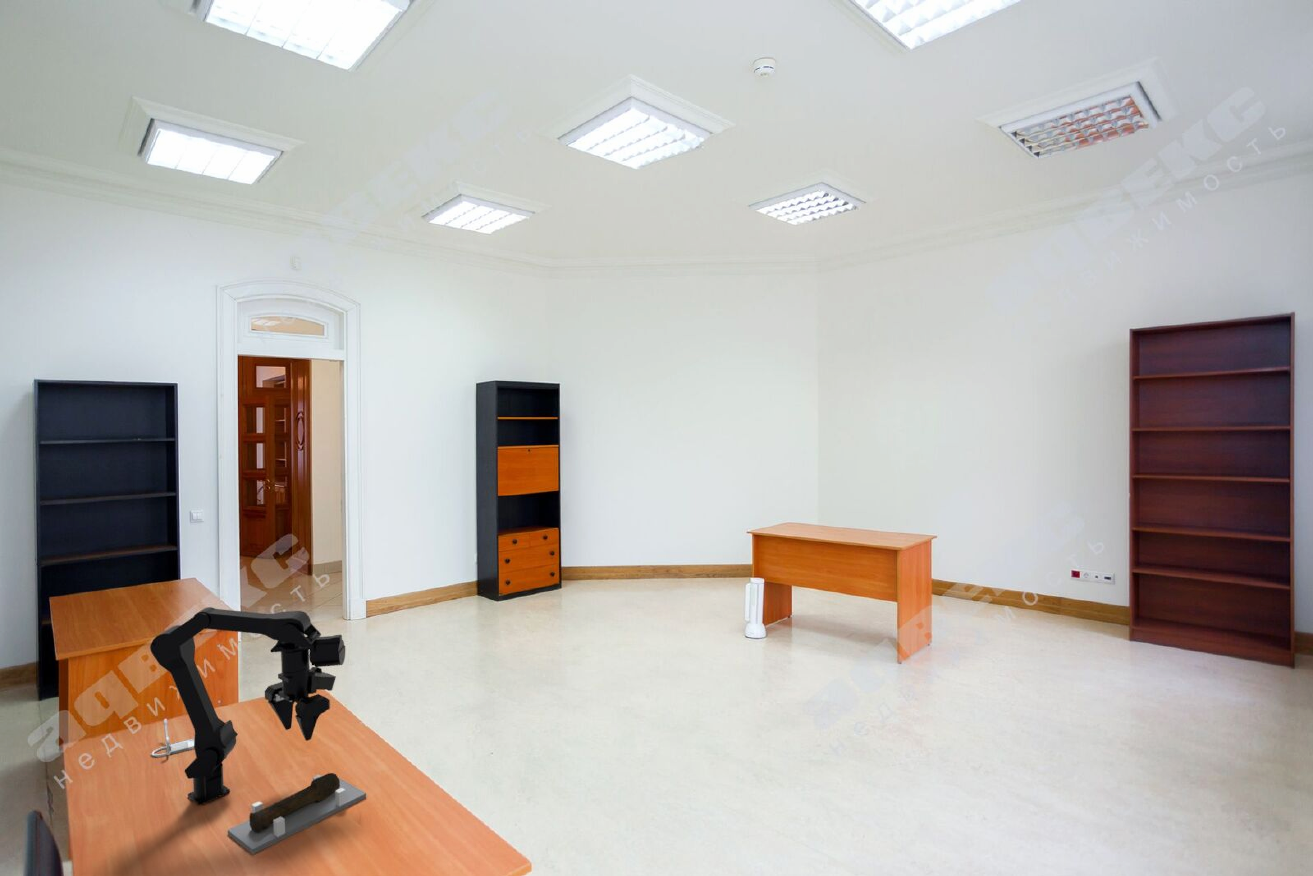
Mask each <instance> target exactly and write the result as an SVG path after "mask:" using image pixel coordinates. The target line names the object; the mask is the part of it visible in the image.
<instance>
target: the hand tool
mask: <svg viewBox="0 0 1313 876" xmlns="http://www.w3.org/2000/svg"><path fill="white" fill-rule="evenodd" d="M339 778H340V777H339ZM339 778H338V775H337V774H336V773H334V772H331V773H330V772H329V773H326V774H324V775H321V777H319V778H316V779H315V780H313V779H312V781H311V782H310V785H309V786H306V787H305V788H302V789H301V790H299V791H298V792H297V791H296V792H295V793H294V794H291V795H289V796H287V797H285V798H283V799H281V800H279V801H277V802H274V803H273V804H271V805H269V806H266V807H264V808H263V809H262V810H260V811H258V812H255V813H252V812H251V813H249V817H248V818H249V819H248V820H250V826H251V829H252V830H253V831H254V832H256V833H259V832H260V831H261V830H262V829H267V828H268V826H269V825H270V824H272V823H273V820H275V819H277V818H279V817H282V818H283V817H285V816H287V815H290V814H292V813H293V812H295V811H297V810H299V809H301V808H303V807H304V806H306V805H308V804H310V803H313V802H321V801H323V800H324V799H326V798H327V797H328V796H330V795H331V794H333V793H334V792H335V791H336V790H337V789H339V787H340V781H339Z"/></svg>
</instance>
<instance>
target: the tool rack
mask: <svg viewBox="0 0 1313 876" xmlns="http://www.w3.org/2000/svg"><path fill="white" fill-rule="evenodd" d="M321 776H322V775H321V774H317V775H315V776H313V777H312V781H313V780H315V779H316V778H319V777H321ZM339 781H340V787H339V789H337V790H336V791H335V792H334V793H333V794H331V795H330V796H328V797H327V798H326V799H324V800H323V801H321V802H313V803H310V804H308V805H306V806H304V807H303V808H301V809H299V810H297V811H295V812H293V813H292V814H290V815H287V816H285V817H283V818H282V817H279V818H277V819H275V820H273V823H272V824H270V825H269V826H268V828H267V829H262V830H261V831H260V832H259V833H256V832H254V831H253V830H252V829H251V826H250V820H249V819H248V820H246V821H244V822H241V823H239V824H237V825H234V826H233V827H230V828H229V829H227V835H228V836H229V837H230V838H232V839H233V840H234V841H235V842H237V843H238V844H239V845H241V846H242V847H243V849H245V850H247V851H248V852H249V853H250V854H251V855H255V854H257V853H258V852H260V851H263V850H265V849H267V848H268V847H270V846H272V845H274V844H276V843H279V842H280V841H282V840H284V839H286V838H288V837H291V836H292V835H295V834H297V833H299V832H300V831H302V830H304V829H306V828H309V827H310V826H312V825H315V824H317V823H318V822H321V821H322V820H324V819H326V818H328V817H330V816H332V815H334V814H336V813H338V812H341V811H343V810H344V809H346V808H348V807H350V806H353V805H354V804H356V803H358V802H360V801H362V800H364V799H366V798H367V793H366V792H365V791H363V790H361V789H359V788H358V787H357V786H354V785H352V784H351V783H349V782H347V781H346V780H344V779H342V778H341V777H339ZM262 809H264V808H263V802H261V801H260V800H259V801H257V802H254V803H252V804H251V813H255V812H258V811H260V810H262Z"/></svg>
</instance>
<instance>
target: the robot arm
mask: <svg viewBox="0 0 1313 876" xmlns="http://www.w3.org/2000/svg"><path fill="white" fill-rule="evenodd" d="M311 621H312V620H311V619H310V616H309V615H308V614H307V612H305V611H302V610H290V611H287V610H286V611H279V612H274V613H263V612H252V611H251V612H250V611H243V610H242V611H241V610H231V609H222V608H221V609H220V608H216V607H211V606H209V607H205V608H203V609H202V610H199V611H198V612H197V613H195V614H194V615H193V617H191V618H190V619H188V620H186V621H185V622H184V623H182V624H177V625H172V626H170V627H169V628H168V629H166V630H164V631H162V633H159V634H158V635H157V636H155V637H154V639H153V640H152V641H151V643H150V645H149V646H150V647H149V648H150V649H149V650H150V652H151V655H152V656H153V657H154V659H155V660H156V662H157V663H158V665H159V666H161V667H162V668H164V669H165V670H166V671H168V672H169V673H170V675H171V678H172V679H173V682H174V685H175V686H176V690H177V691H178V694H179V696H180V698H181V701H182V704H183V705H184V708H185V710H186V713H187V715H188V717H189V720H190V722H191V725H192V728H193V729H194V738H193V739H194V749H193V750H194V754H195V758H194V760H192V762H191V763H189V765H188V766H187V767H186V768H185V769H184V773H185V776H186V778H187V779H189V780H190V779H192V783H193V787H192V788H193V789H192V790H193V791H191V792H189V793H187V798H189V799H190V800H191V801H192V802H194V803H195V804H196V805H197V806H201V805H204V804H206V803H208V802H210V801H212V800H215V799H218V798H220V797H222V796H225V795H228V794H229V793H230V792H231V790H230V789H229V788H228V787H227V786H226V785H224V784H225V783H224V764H223V762H224V761H225V759H227V758H228V755H230V753H231V752H232V751H233V750H234V748H235V747H236V744H237V737H238V733H237V731H236V730H235V729H234V724H233V721H232V719H229V720H227V721H226V722H224V720H222V719H220V718H219V716H218V715H217V711H216V710H215V707H214V705H213V702H212V700H211V698H210V696H209V692H208V690H207V688H206V685H205V683H204V682H203V678H202V676H201V674H200V672H199V669H198V667H197V665H196V660H195V658H196V657H195V656H196V655H195V654H196V644H195V638H194V637H195V636H197V635H198V634H199V633H201V632H202V631H204V630H217V631H224V632H225V631H228V632H237V633H248V634H256V635H257V634H258V635H259V634H260V635H263V636H266V637H267V638H269V639H271V640H274V641H277V642H276V643H275V645H273V646H272V648H271V649H270V650H269V651H270V653H279V652H280V663H281V672H280V673H278V674H277V679H279V680H280V681H279V682H278V683H274V684H271V685H268V686H267V688H265V690H264V699H265V701H267V703H268V704H269V705H270V707H271V709H272V710H273V712H274V713H275V714H276V716H277V718H278V719H279V721H280V723H281V724H282V726H283V728H284V729H285V731H287V730H290V729H291V728H292V723H293V711H295V714H296V715H295V718H296V721H297V723H298V726H299V729H300V731H301V733H302V736H303V738H304V740H305V741H307V742H308V741H310V740H311V739H312V738H313V733H314V731H315V727H316V724H317V721H318V719H319V717H320V716H321V715H322V714H324V713H326V712H327V711H329V710H330V709H331V700H330V699H329V698H327V696H324V695H321V694H320V693H317V691H318V690H322V691H323V690H324V691H325V690H327V691H329V692H330V691H333V690H334V685H335V681H336V678H337V677H336V676H335V675H333V674H330V673H328V672H325V671H322V668H323V667H335V666H343V664H344V662H345V657H346V645H345V643H344V642H345V641H344V639H343V635H342V634H334V635H330V636H329V635H328V636H326V635H325V636H322V633H321V632H320V631H319V630H318V629H317V628H316V627H315V625H314V624H313V623H312V622H311ZM310 663H311V667H310ZM316 693H317V694H316ZM313 694H314V695H313ZM309 695H312V696H309ZM295 703H296V704H295ZM294 704H295V706H294ZM294 709H295V710H294Z"/></svg>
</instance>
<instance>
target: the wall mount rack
mask: <svg viewBox="0 0 1313 876" xmlns="http://www.w3.org/2000/svg"><path fill="white" fill-rule="evenodd" d="M163 725H164V736H165V746H162V747H160V748H159V747H158V748H157V749H155V750H153V751H152V752H151V756H152V757H157V758H158V757H163V756H168V755H175V754H179V753H182V751H183V752H187V751H190V750H195V749H194V738H191V739H187V740H184V741H180V742H176V743H172V744H170V740H171V739H170V737H169V732H168V719H167V718H164V719H163ZM162 750H166V752H163V753H158V754H157V752H159V751H162Z"/></svg>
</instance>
